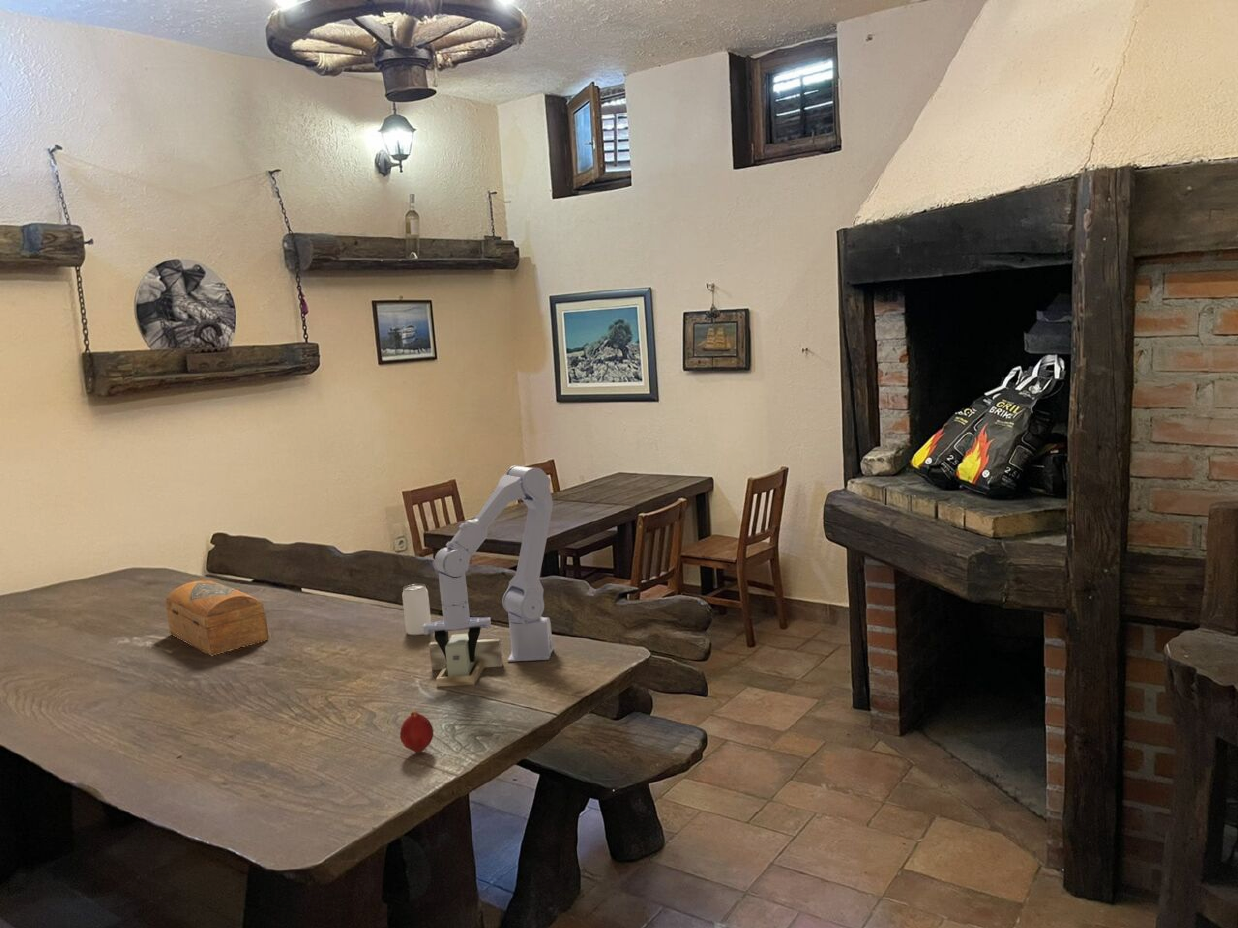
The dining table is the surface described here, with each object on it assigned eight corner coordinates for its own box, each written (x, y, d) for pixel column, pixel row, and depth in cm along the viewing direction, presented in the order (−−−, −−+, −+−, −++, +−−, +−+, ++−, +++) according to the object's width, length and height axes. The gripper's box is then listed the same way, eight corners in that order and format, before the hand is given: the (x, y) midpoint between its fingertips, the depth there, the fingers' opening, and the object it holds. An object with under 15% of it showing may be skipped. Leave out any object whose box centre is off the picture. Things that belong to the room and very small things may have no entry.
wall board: (502, 663, 204) (500, 638, 204) (492, 683, 193) (489, 657, 192) (433, 667, 206) (430, 642, 205) (419, 687, 194) (416, 660, 193)
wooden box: (273, 640, 236) (267, 588, 234) (208, 658, 224) (201, 604, 223) (230, 620, 257) (224, 572, 255) (169, 635, 246) (162, 586, 244)
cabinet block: (474, 663, 203) (471, 633, 202) (468, 677, 195) (464, 646, 194) (455, 664, 203) (452, 634, 202) (447, 678, 195) (444, 647, 194)
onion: (405, 747, 165) (400, 705, 164) (436, 743, 165) (432, 702, 164) (400, 761, 159) (395, 718, 158) (433, 758, 160) (428, 715, 159)
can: (425, 635, 229) (420, 590, 227) (402, 635, 230) (397, 590, 229) (435, 627, 235) (431, 583, 234) (412, 627, 237) (408, 583, 235)
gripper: (489, 594, 202) (494, 652, 204) (423, 600, 201) (430, 658, 203) (487, 603, 195) (493, 663, 197) (419, 609, 194) (426, 669, 196)
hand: (461, 661), depth 199 cm, fingers closed on cabinet block, 4 cm apart
